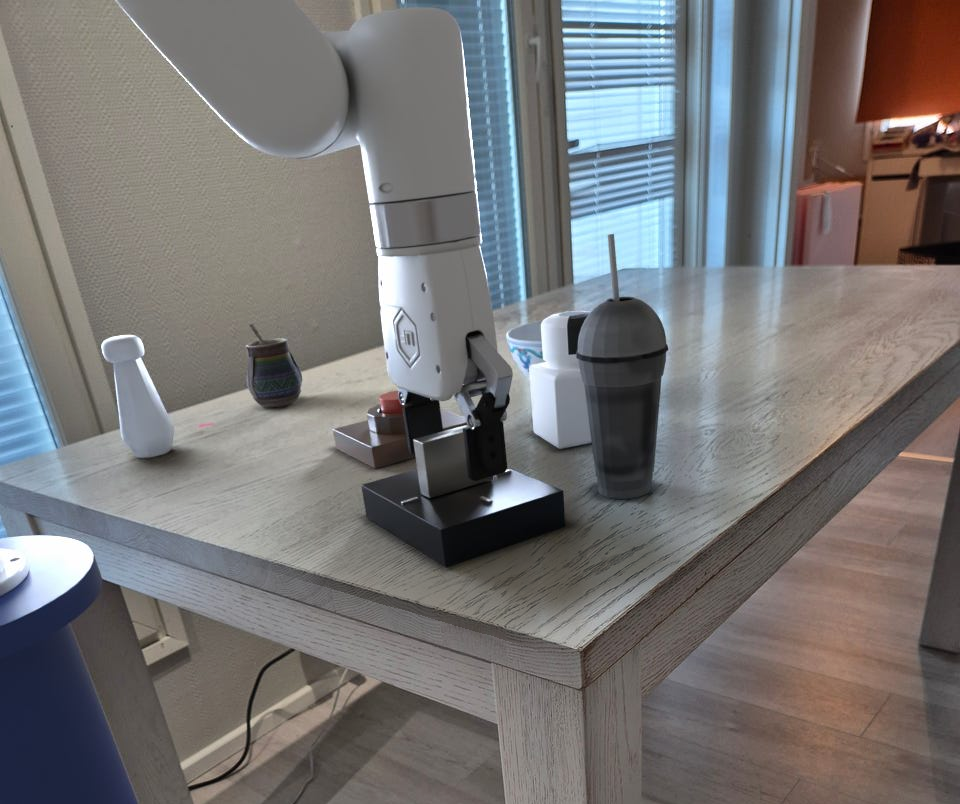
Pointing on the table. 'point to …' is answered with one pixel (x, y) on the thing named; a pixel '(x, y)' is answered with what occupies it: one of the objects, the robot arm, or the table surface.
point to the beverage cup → (622, 388)
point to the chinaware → (526, 345)
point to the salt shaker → (138, 399)
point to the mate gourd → (272, 372)
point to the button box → (383, 437)
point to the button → (390, 403)
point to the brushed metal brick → (443, 463)
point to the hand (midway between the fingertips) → (456, 462)
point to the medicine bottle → (560, 383)
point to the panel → (464, 514)
